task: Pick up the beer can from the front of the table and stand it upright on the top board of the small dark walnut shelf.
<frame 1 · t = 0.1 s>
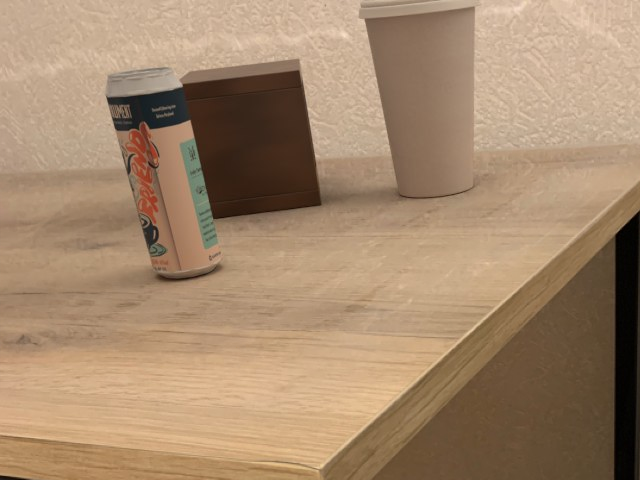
shelf: (265, 197, 82), on the table
beer can: (190, 273, 62), on the table
coffee cup: (436, 191, 78), on the table
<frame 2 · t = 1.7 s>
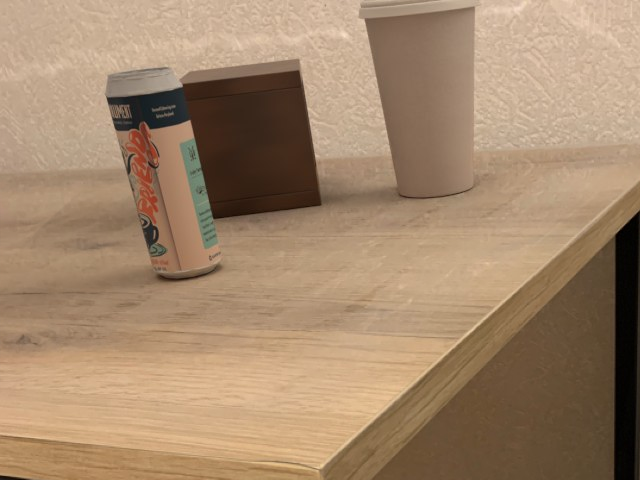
nothing on the table moved.
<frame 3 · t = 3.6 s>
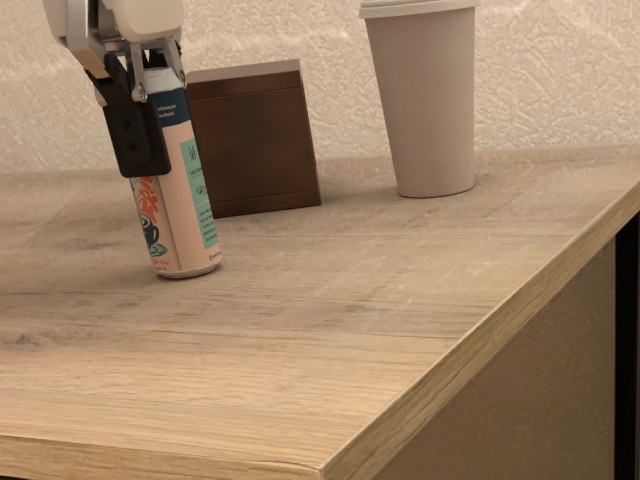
hand: (162, 163, 59), 7 cm above the table, tool pointing down, fingers closed on beer can, 4 cm apart
beer can: (190, 273, 63), on the table, touching gripper
everything else where it was.
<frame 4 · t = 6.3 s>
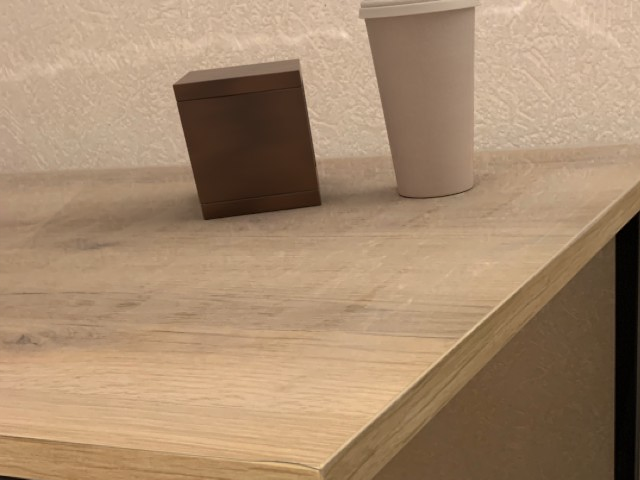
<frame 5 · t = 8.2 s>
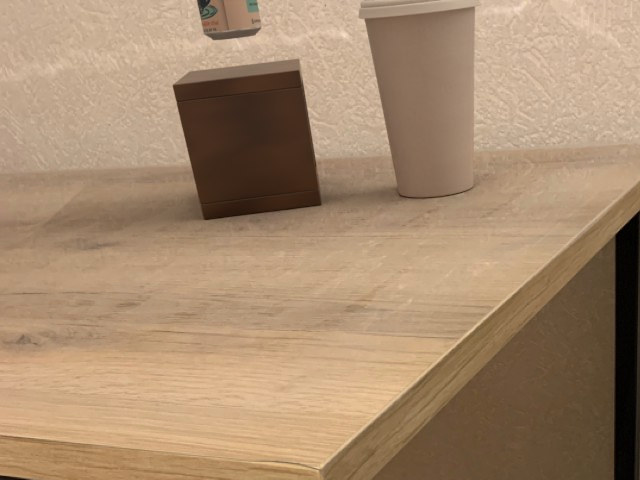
beer can: (234, 40, 75), point 12 cm above the table, touching gripper
everything else where it was.
when the fingers open (17 cm above the table, at t = 9.4 s): beer can stays where it is, resting on shelf.
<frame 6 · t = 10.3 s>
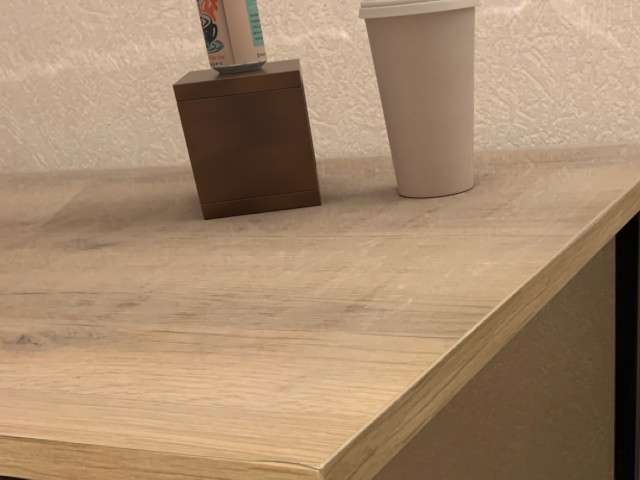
beer can: (240, 73, 76), point 10 cm above the table, touching shelf
everything else where it was.
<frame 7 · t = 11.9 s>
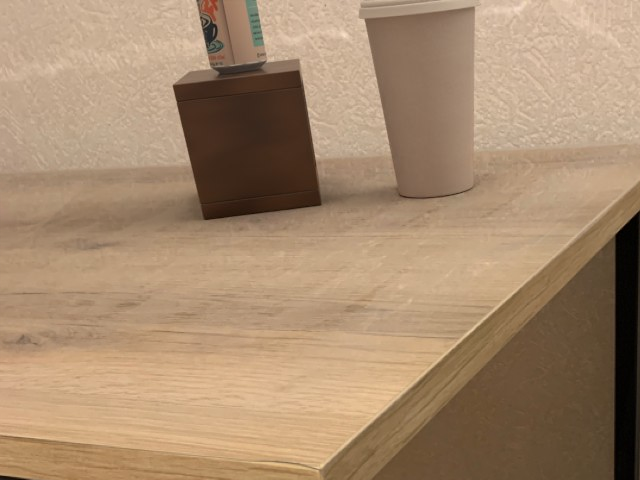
nothing on the table moved.
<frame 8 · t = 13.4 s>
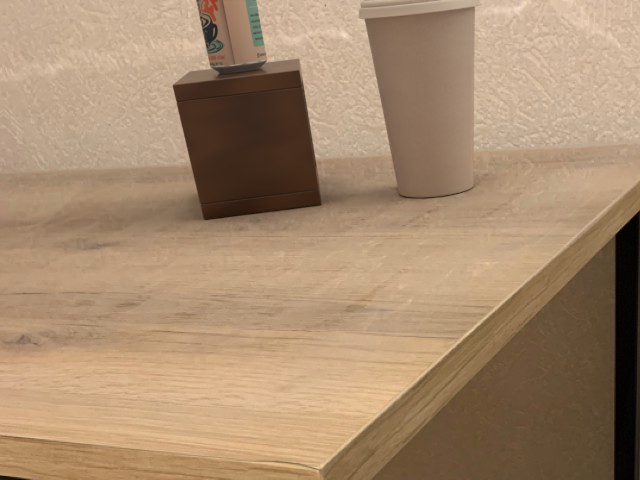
nothing on the table moved.
at the end: beer can inside the target area on the shelf (0.0 cm from its centre), point 9.8 cm above the shelf's base; beer can tilted 0°; the gripper is holding nothing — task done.
